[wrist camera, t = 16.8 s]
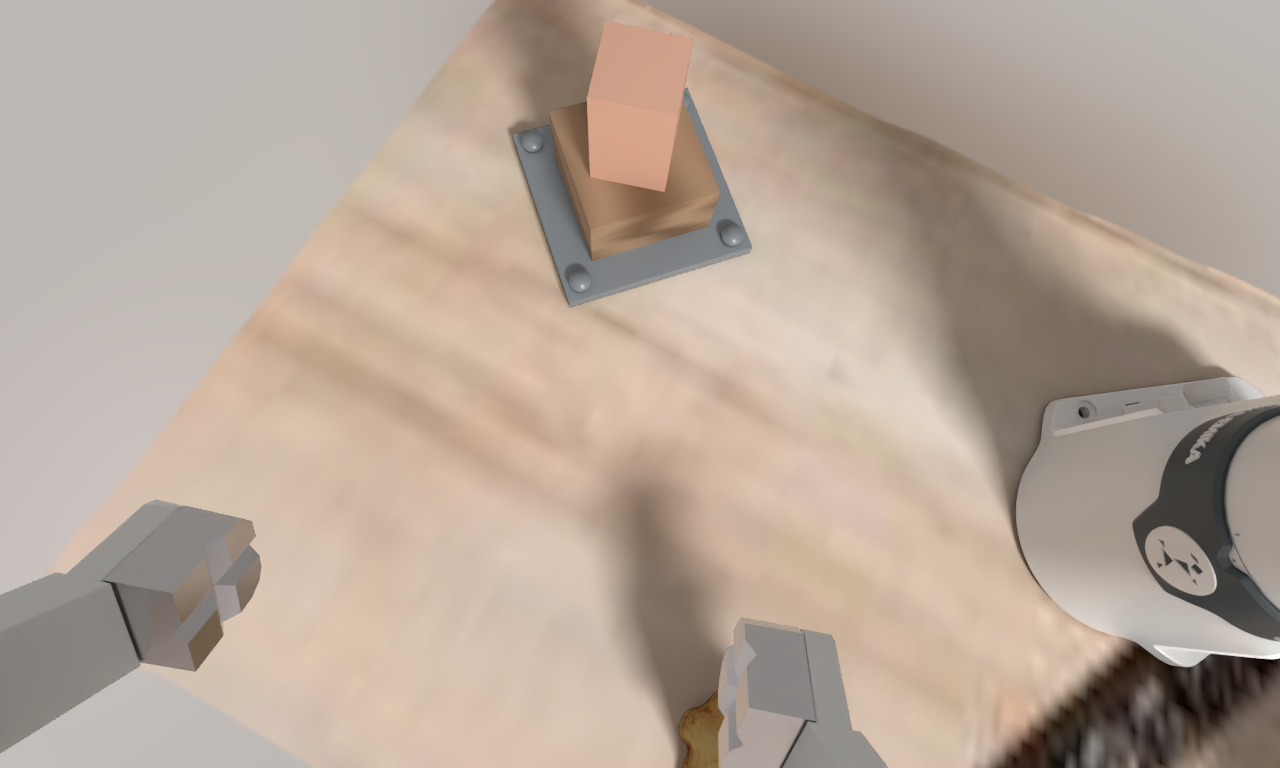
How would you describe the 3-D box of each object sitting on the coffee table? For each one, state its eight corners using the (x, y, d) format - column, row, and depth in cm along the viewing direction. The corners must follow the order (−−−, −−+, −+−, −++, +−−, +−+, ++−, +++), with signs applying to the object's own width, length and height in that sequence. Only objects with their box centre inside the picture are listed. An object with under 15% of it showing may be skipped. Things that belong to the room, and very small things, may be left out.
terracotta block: (605, 112, 44) (605, 21, 36) (677, 126, 44) (693, 38, 36) (590, 177, 43) (586, 97, 35) (664, 192, 43) (677, 115, 35)
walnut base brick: (667, 123, 50) (674, 78, 45) (708, 226, 48) (720, 191, 43) (554, 154, 49) (549, 111, 44) (591, 261, 47) (590, 229, 42)
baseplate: (685, 96, 52) (688, 82, 50) (749, 252, 49) (754, 243, 47) (514, 142, 50) (511, 129, 48) (569, 307, 47) (568, 299, 46)
